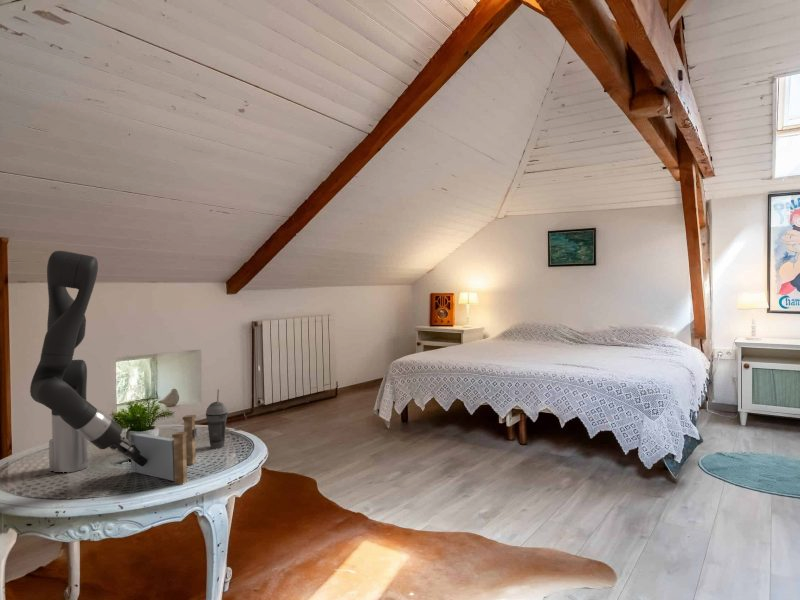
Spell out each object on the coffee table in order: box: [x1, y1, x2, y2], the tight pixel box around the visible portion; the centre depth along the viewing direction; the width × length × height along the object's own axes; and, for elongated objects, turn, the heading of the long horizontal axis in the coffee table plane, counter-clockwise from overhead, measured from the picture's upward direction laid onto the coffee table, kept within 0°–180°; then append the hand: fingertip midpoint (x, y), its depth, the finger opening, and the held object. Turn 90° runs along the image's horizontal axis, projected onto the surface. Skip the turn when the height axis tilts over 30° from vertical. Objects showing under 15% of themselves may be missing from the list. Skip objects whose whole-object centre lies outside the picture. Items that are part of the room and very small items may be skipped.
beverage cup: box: [205, 389, 229, 450], centre depth 186 cm, size 7×7×20 cm
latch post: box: [182, 414, 198, 466], centre depth 167 cm, size 3×3×15 cm
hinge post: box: [171, 431, 188, 485], centre depth 149 cm, size 3×3×14 cm
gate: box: [130, 432, 175, 482], centre depth 155 cm, size 19×2×11 cm, turn 60°
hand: (144, 463), depth 155 cm, fingers closed
